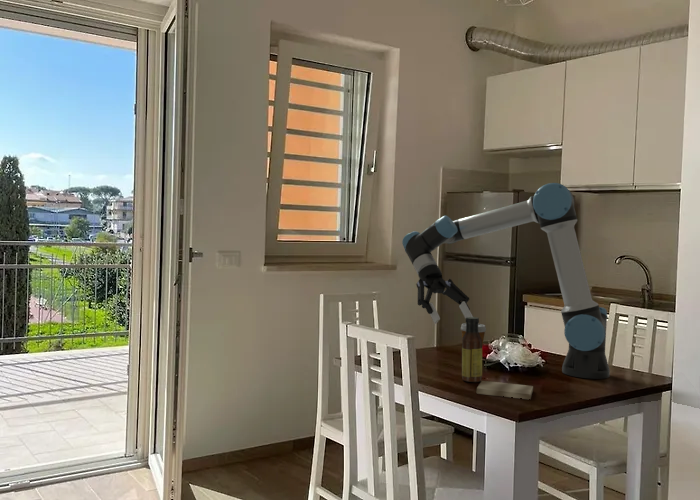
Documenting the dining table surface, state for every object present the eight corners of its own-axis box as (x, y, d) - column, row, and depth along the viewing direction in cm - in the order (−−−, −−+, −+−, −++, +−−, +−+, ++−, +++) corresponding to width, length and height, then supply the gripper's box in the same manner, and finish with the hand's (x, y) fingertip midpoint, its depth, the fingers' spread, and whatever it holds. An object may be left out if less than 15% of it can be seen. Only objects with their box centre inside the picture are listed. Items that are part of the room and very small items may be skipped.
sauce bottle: (483, 379, 210) (485, 317, 210) (480, 384, 204) (483, 319, 204) (462, 377, 212) (465, 315, 212) (459, 381, 206) (461, 317, 206)
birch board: (532, 391, 197) (533, 386, 197) (530, 399, 187) (530, 394, 187) (481, 385, 202) (482, 380, 202) (476, 393, 192) (476, 388, 192)
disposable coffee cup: (487, 359, 244) (488, 327, 244) (461, 358, 244) (462, 326, 244) (482, 354, 254) (483, 323, 253) (457, 353, 254) (458, 322, 254)
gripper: (451, 277, 236) (477, 325, 224) (393, 277, 224) (417, 328, 211) (461, 263, 232) (489, 311, 219) (402, 262, 219) (428, 314, 206)
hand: (454, 320), depth 215 cm, fingers open, 13 cm apart
